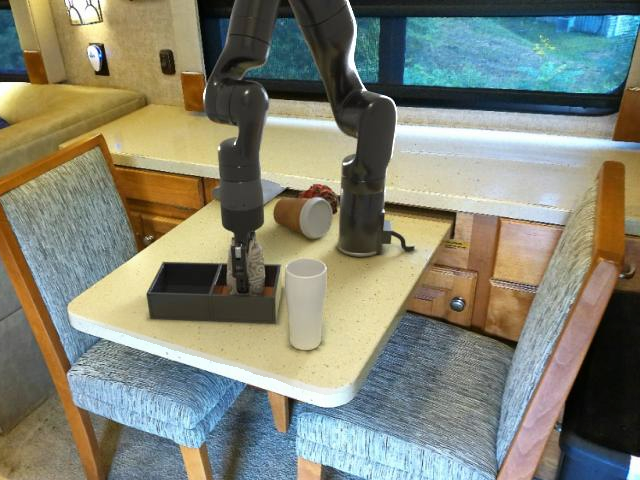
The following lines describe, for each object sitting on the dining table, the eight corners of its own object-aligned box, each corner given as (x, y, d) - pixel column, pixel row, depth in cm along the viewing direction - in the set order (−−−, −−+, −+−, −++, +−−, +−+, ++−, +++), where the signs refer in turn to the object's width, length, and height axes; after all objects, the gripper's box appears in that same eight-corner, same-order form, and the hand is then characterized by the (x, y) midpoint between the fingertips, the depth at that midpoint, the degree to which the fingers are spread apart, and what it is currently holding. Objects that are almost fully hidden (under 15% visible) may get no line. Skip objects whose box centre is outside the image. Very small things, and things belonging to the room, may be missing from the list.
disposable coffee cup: (286, 237, 146) (323, 246, 137) (262, 221, 139) (299, 229, 131) (301, 202, 146) (339, 208, 138) (278, 184, 140) (316, 189, 131)
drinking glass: (283, 333, 106) (281, 259, 98) (320, 329, 107) (322, 255, 99) (288, 356, 101) (288, 279, 93) (328, 352, 101) (331, 275, 93)
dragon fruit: (338, 228, 144) (299, 223, 152) (352, 199, 146) (313, 195, 154) (323, 208, 138) (283, 204, 146) (338, 178, 140) (297, 175, 148)
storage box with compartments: (281, 289, 119) (281, 264, 116) (276, 323, 109) (275, 297, 106) (166, 285, 123) (162, 261, 120) (150, 319, 113) (146, 293, 110)
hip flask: (263, 208, 153) (299, 182, 167) (262, 193, 151) (299, 168, 165) (212, 198, 160) (250, 173, 174) (210, 184, 158) (249, 160, 172)
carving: (257, 313, 111) (255, 256, 104) (221, 305, 114) (217, 249, 107) (271, 296, 115) (270, 240, 109) (237, 289, 118) (233, 234, 112)
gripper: (258, 217, 97) (262, 301, 106) (267, 184, 109) (270, 262, 117) (212, 217, 98) (220, 300, 107) (226, 184, 110) (232, 261, 119)
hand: (246, 280), depth 112 cm, fingers open, 8 cm apart
